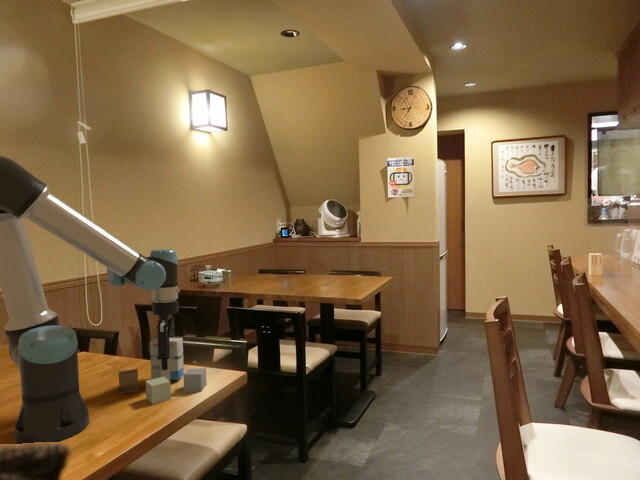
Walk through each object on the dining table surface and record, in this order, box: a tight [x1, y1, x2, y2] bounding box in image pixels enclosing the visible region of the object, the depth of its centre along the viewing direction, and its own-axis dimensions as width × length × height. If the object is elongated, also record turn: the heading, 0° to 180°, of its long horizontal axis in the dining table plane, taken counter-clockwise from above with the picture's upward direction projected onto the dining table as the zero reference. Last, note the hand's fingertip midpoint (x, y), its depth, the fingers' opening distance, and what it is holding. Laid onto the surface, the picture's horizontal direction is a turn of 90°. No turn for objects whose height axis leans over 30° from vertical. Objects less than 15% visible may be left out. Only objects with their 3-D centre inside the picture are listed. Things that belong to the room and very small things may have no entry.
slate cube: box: [182, 367, 207, 393], centre depth 131 cm, size 5×5×5 cm
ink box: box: [149, 336, 185, 381], centre depth 138 cm, size 8×5×12 cm, turn 85°
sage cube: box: [145, 377, 172, 405], centre depth 124 cm, size 5×5×5 cm
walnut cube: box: [118, 368, 140, 395], centre depth 131 cm, size 5×5×5 cm
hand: (167, 375), depth 139 cm, fingers closed on ink box, 6 cm apart
